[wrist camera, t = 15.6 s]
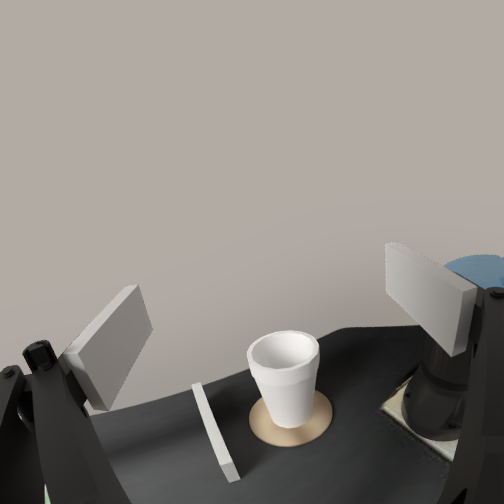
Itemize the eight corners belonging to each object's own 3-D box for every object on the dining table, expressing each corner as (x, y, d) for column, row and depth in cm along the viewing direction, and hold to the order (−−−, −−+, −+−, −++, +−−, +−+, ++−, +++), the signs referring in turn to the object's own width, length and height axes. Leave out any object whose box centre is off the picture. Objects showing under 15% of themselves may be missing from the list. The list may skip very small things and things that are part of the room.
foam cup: (277, 445, 34) (264, 382, 30) (252, 408, 42) (236, 345, 39) (333, 417, 37) (333, 351, 33) (302, 386, 45) (296, 323, 42)
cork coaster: (306, 379, 48) (306, 377, 47) (348, 422, 36) (348, 419, 35) (238, 406, 44) (238, 403, 44) (269, 459, 32) (268, 457, 32)
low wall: (207, 402, 45) (200, 382, 44) (240, 479, 29) (232, 461, 28) (199, 404, 45) (191, 384, 44) (229, 482, 28) (220, 465, 27)
